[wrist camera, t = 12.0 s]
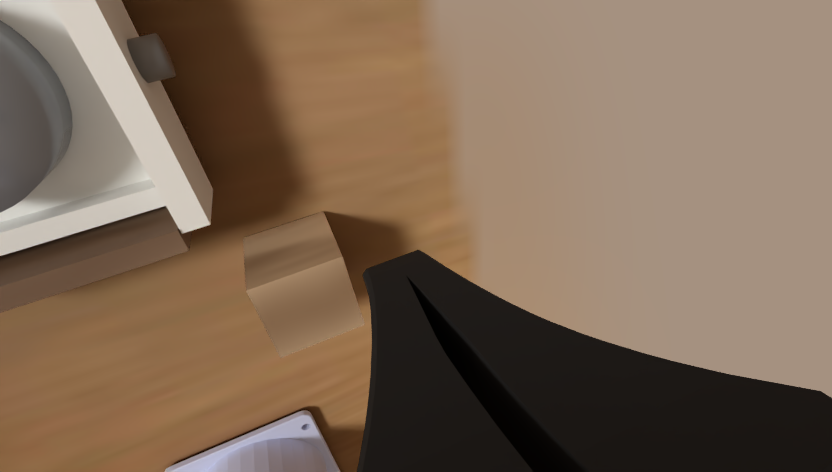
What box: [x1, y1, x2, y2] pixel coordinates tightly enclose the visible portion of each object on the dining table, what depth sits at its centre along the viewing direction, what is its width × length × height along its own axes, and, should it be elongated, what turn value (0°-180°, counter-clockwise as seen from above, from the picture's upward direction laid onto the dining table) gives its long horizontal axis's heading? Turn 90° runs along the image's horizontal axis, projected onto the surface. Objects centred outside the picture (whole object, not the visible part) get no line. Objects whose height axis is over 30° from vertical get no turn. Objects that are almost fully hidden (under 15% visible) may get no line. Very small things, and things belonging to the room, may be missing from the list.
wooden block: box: [243, 212, 365, 358], centre depth 19 cm, size 4×4×4 cm
